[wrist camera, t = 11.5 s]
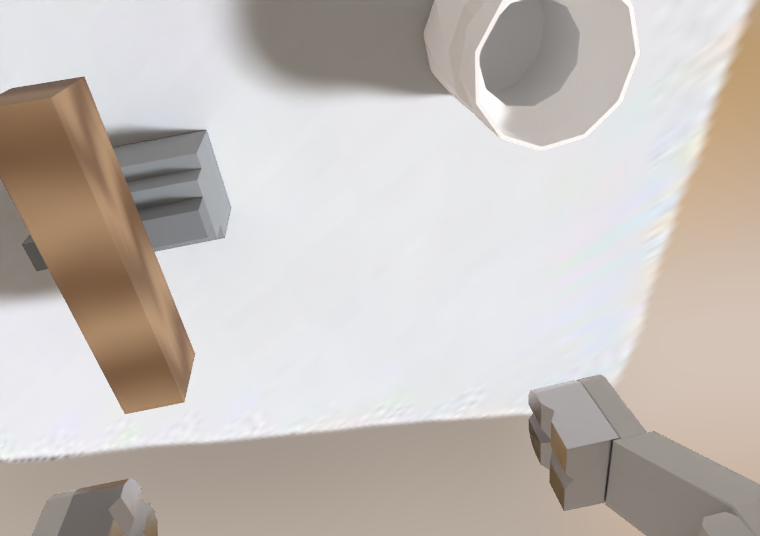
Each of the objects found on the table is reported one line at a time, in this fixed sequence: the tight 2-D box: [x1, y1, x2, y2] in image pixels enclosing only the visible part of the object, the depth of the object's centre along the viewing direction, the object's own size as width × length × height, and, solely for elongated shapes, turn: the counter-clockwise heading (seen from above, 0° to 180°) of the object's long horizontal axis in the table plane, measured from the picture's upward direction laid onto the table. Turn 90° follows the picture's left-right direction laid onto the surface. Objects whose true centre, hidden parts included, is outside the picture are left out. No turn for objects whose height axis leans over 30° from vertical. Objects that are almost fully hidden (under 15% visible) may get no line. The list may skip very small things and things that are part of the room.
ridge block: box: [22, 130, 231, 271], centre depth 35 cm, size 6×10×9 cm, turn 98°
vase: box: [423, 0, 640, 151], centre depth 32 cm, size 9×9×12 cm
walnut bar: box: [0, 77, 195, 414], centre depth 30 cm, size 18×4×4 cm, turn 7°
